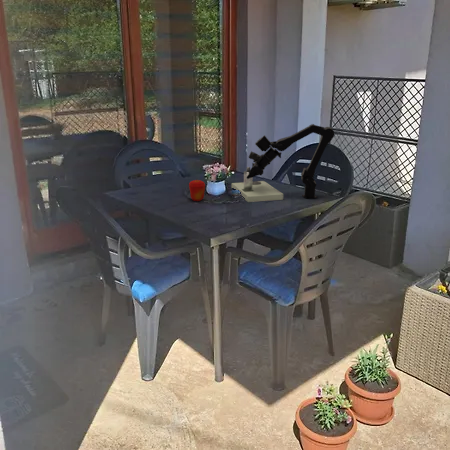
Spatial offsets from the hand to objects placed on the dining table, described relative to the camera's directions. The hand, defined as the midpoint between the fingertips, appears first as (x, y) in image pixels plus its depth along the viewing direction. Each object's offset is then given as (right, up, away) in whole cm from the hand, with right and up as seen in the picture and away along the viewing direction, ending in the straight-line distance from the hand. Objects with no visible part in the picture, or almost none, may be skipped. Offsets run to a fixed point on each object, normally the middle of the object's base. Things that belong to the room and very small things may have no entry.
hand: (247, 177), depth 270 cm
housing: (+6, -9, +7) cm, 12 cm away
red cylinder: (-27, -13, -6) cm, 31 cm away
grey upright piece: (+1, -6, +2) cm, 7 cm away
